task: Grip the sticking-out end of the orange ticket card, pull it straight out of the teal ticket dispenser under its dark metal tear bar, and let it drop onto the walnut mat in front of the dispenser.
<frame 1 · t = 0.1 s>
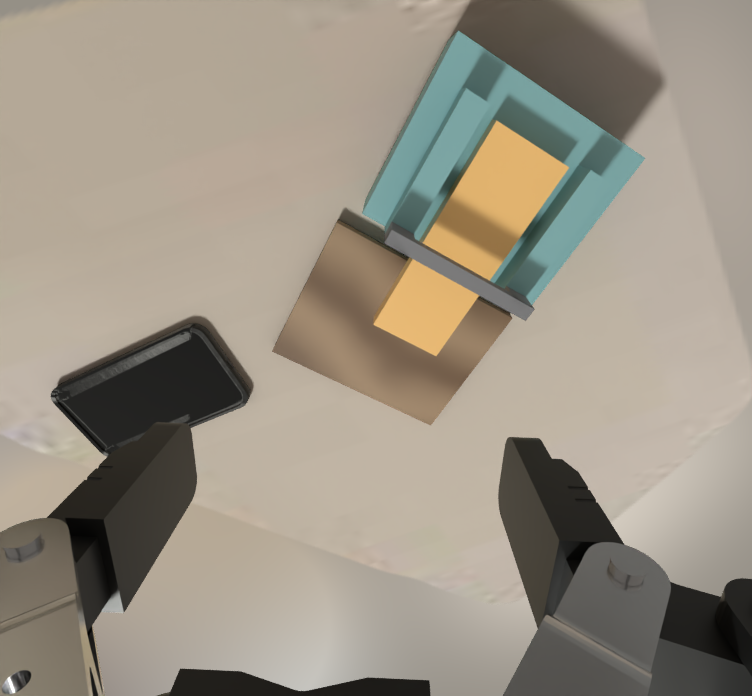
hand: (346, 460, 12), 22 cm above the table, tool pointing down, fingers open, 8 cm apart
ticket dispenser: (485, 176, 30), on the table
ticket card: (460, 246, 28), point 4 cm above the table, touching ticket dispenser
phone: (156, 389, 39), on the table
walnut mat: (389, 330, 35), on the table
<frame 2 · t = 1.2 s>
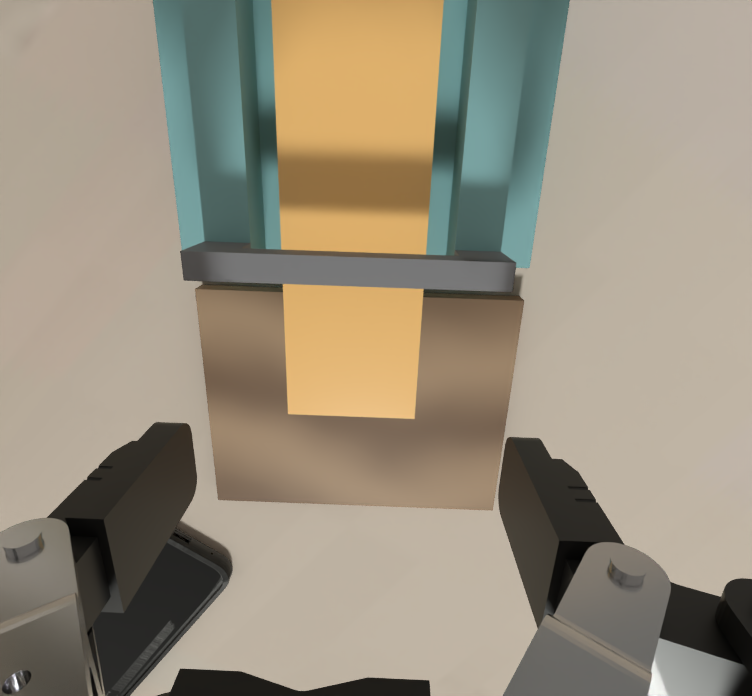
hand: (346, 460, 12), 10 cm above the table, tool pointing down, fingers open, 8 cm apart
ticket dispenser: (363, 113, 18), on the table
ticket card: (356, 229, 16), point 4 cm above the table, touching ticket dispenser
phone: (124, 601, 28), on the table
walnut mat: (358, 401, 23), on the table
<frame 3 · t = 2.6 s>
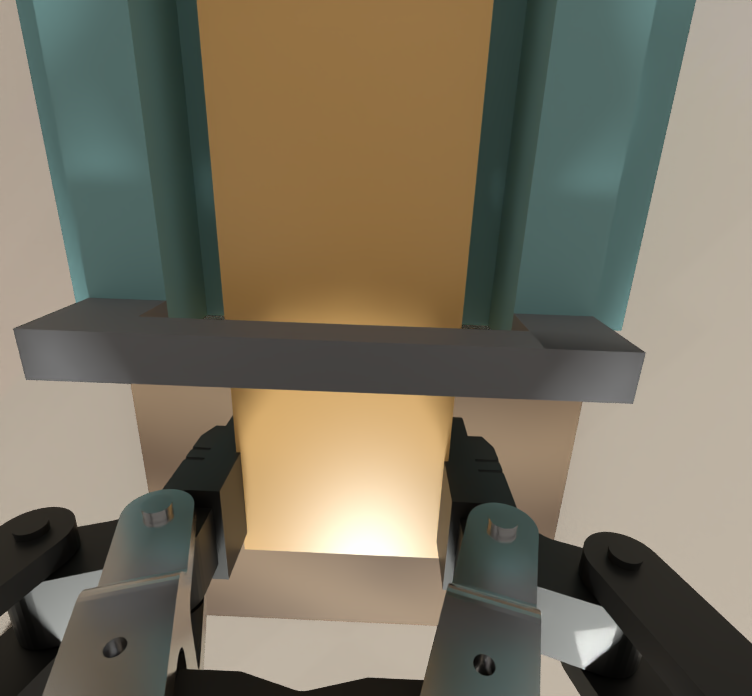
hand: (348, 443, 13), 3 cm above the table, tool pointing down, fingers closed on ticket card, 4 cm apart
ticket dispenser: (361, 94, 12), on the table
ticket card: (348, 270, 10), point 4 cm above the table, touching gripper, ticket dispenser
walnut mat: (354, 488, 17), on the table
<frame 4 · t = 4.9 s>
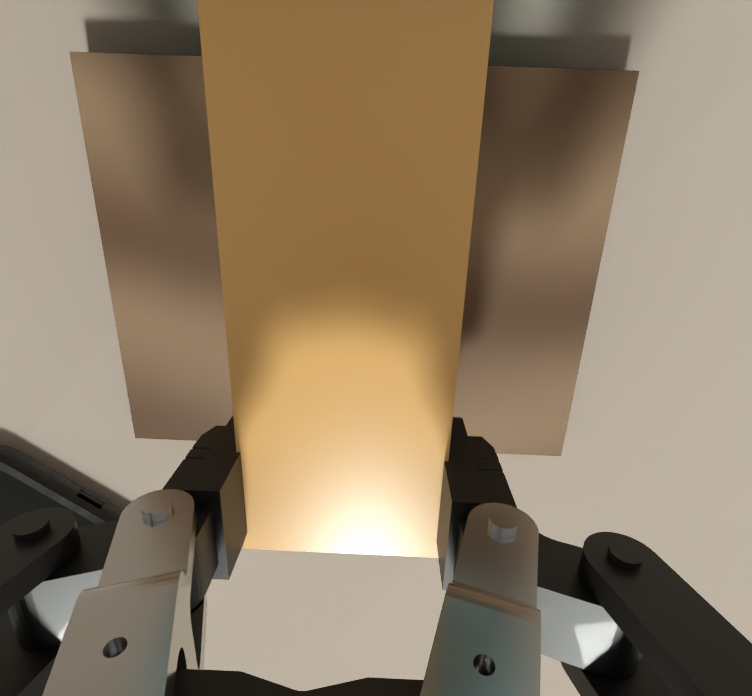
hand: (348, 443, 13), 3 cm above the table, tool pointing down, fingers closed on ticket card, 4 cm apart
ticket card: (348, 270, 10), point 4 cm above the table, touching gripper
phone: (20, 596, 20), on the table
walnut mat: (351, 276, 14), on the table
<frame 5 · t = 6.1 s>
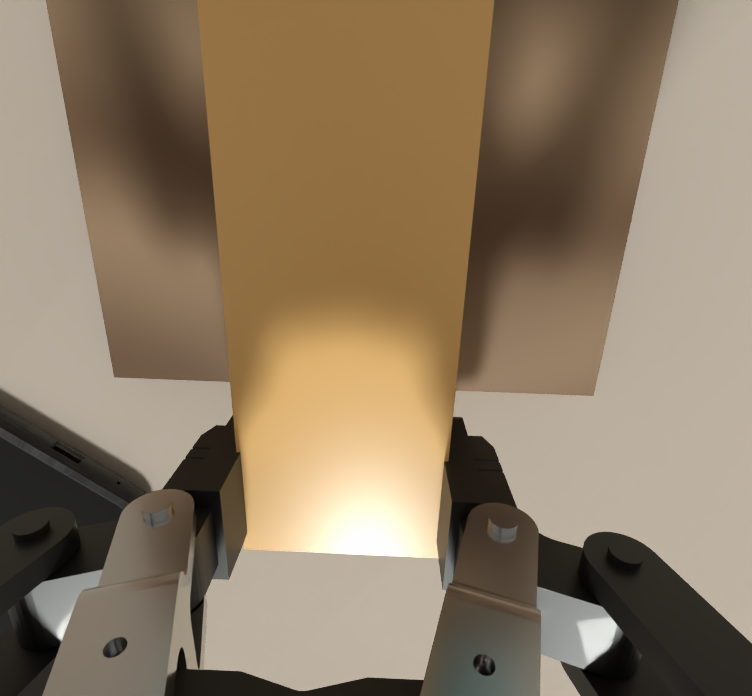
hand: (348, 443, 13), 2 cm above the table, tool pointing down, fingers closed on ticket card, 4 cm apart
ticket card: (348, 270, 10), point 3 cm above the table, touching gripper
walnut mat: (357, 186, 12), on the table
when the fingers open (2 cm above the table, at t = 6.9 s): ticket card drops 2 cm, resting on walnut mat.
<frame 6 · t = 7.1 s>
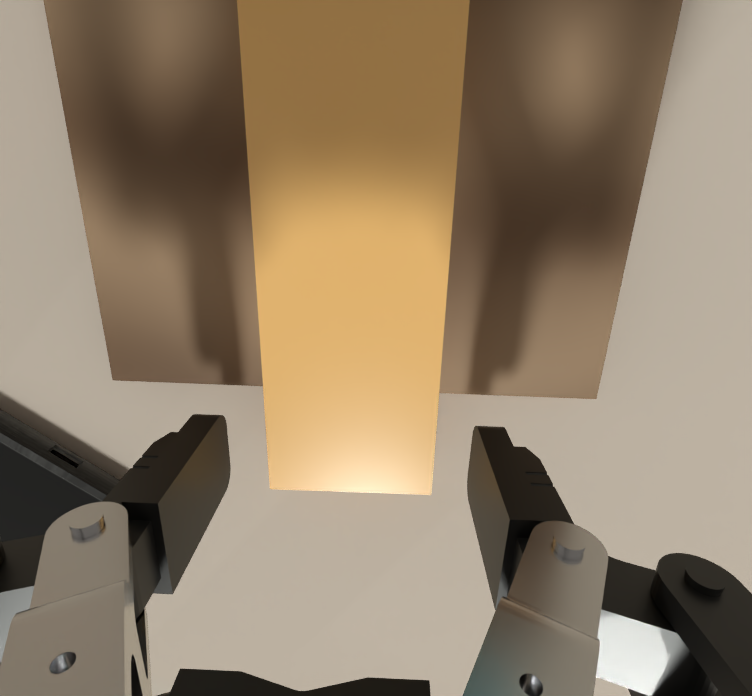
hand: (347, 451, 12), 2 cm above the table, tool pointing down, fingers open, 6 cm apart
ticket card: (354, 255, 12), point 1 cm above the table, touching walnut mat
walnut mat: (357, 187, 12), on the table
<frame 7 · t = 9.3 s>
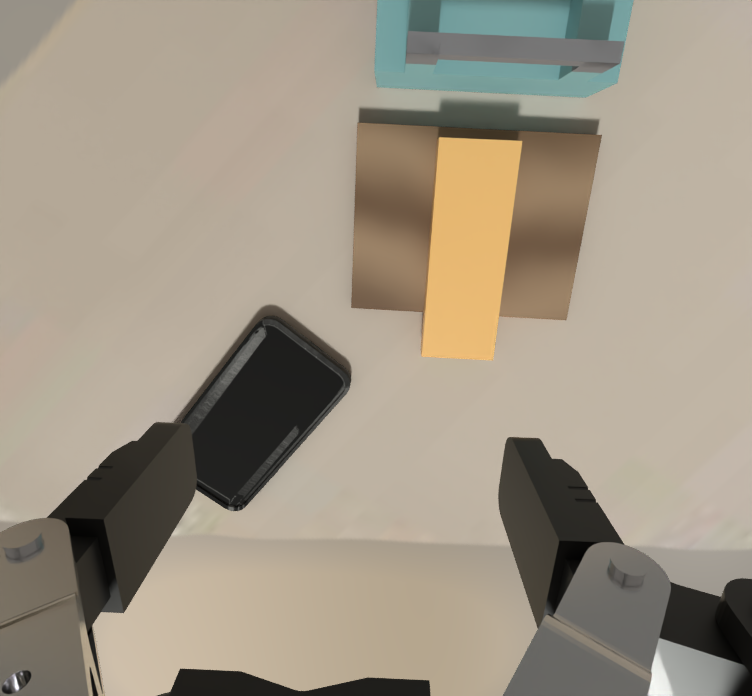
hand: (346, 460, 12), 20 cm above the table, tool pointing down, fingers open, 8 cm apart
ticket card: (465, 254, 29), point 1 cm above the table, touching walnut mat
phone: (255, 414, 35), on the table
walnut mat: (466, 226, 29), on the table
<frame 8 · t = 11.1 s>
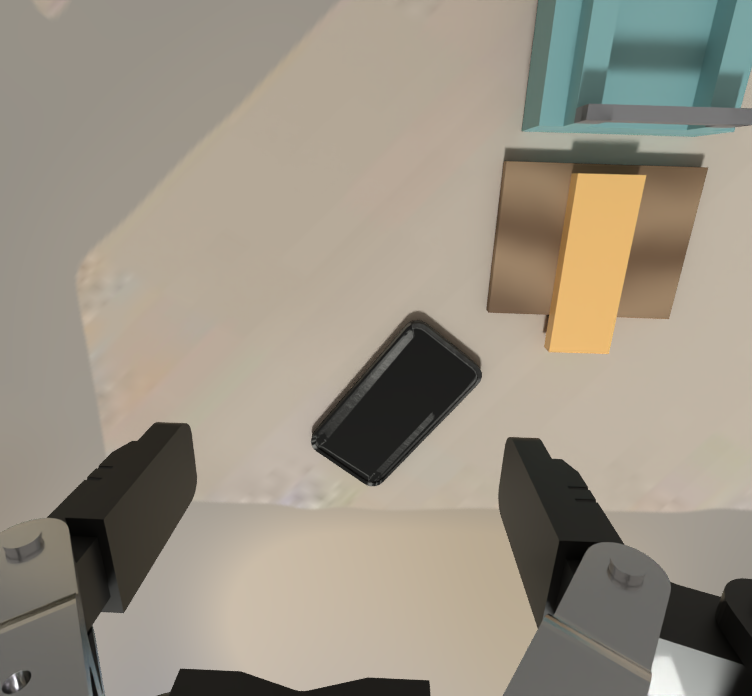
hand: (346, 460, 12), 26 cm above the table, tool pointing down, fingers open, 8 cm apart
ticket dispenser: (623, 51, 31), on the table
ticket card: (587, 266, 35), point 1 cm above the table, touching walnut mat
phone: (393, 403, 41), on the table
walnut mat: (587, 242, 35), on the table
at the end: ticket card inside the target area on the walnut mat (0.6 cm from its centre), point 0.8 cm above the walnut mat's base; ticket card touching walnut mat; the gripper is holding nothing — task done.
